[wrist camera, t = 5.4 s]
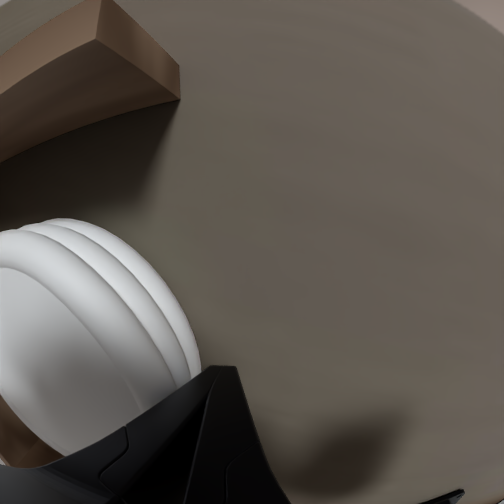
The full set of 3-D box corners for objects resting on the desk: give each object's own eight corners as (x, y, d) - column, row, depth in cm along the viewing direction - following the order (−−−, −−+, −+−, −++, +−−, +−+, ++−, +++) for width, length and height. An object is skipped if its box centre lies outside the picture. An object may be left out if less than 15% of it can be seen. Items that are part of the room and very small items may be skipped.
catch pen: (239, 486, 11) (226, 554, 7) (43, 436, 13) (13, 473, 9) (179, 65, 7) (103, -9, 3) (-40, 165, 9) (-98, 173, 4)
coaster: (-7, 281, 10) (-53, 304, 7) (108, 160, 8) (32, 156, 5) (98, 435, 12) (70, 477, 8) (256, 402, 10) (246, 475, 6)
